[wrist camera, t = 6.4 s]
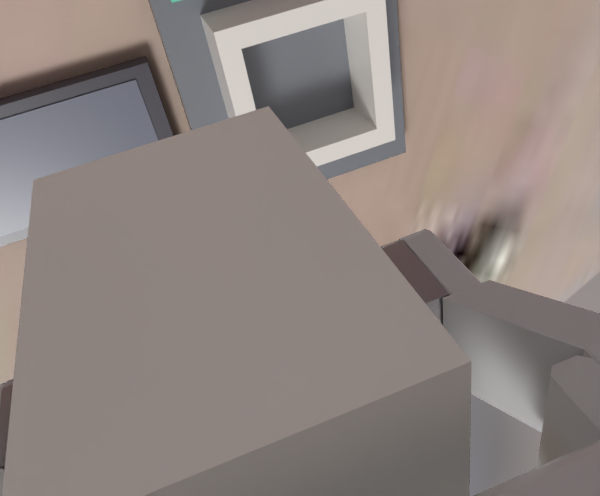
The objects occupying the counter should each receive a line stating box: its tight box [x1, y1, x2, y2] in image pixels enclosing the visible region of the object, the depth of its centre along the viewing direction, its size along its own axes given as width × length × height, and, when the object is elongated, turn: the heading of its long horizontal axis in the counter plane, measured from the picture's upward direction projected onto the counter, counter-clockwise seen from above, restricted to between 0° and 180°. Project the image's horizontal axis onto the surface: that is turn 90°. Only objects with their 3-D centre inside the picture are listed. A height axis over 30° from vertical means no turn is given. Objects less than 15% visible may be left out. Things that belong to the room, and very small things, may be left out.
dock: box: [148, 0, 406, 179], centre depth 29 cm, size 14×12×4 cm
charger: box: [2, 106, 471, 496], centre depth 9 cm, size 5×4×7 cm
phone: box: [0, 57, 173, 247], centre depth 29 cm, size 14×7×1 cm, turn 100°
